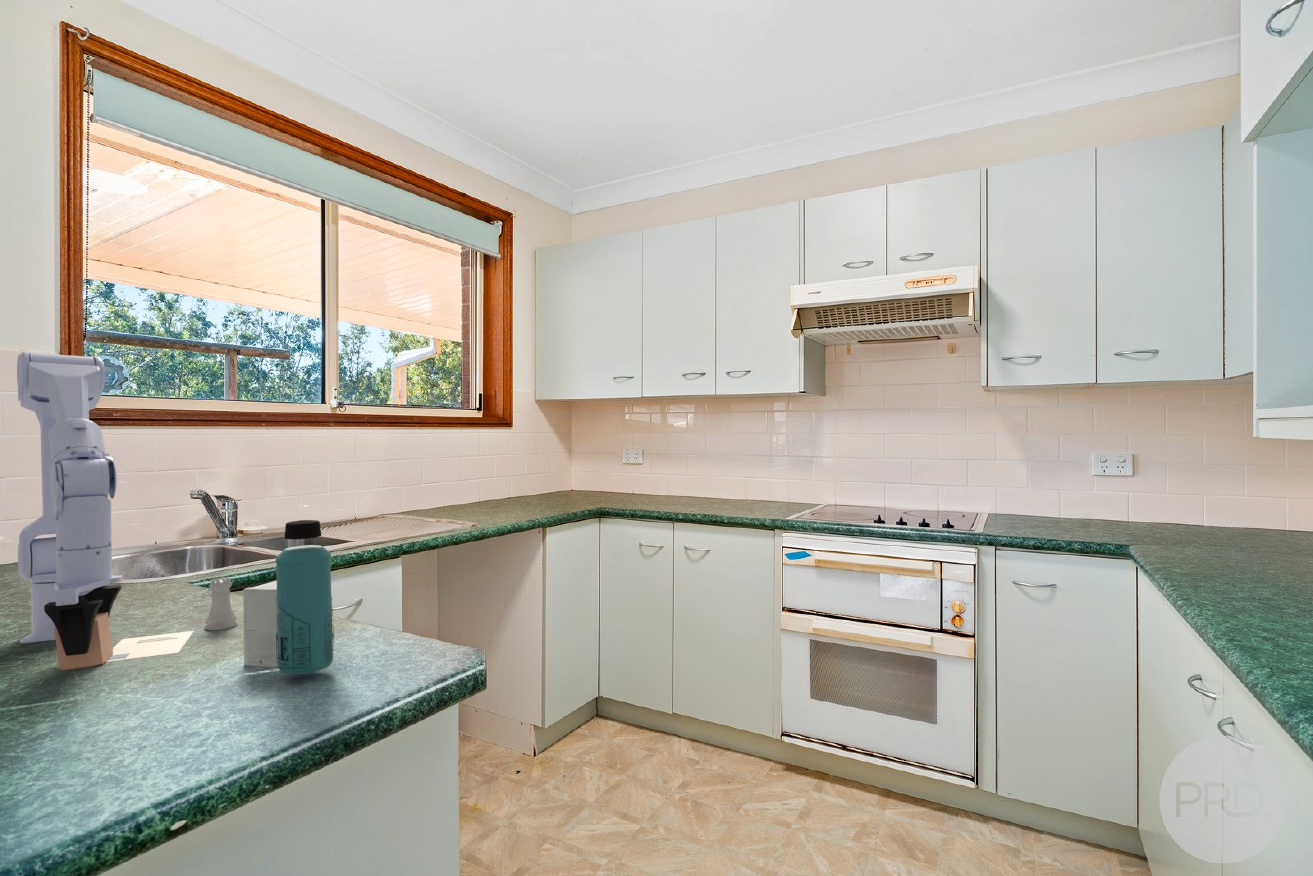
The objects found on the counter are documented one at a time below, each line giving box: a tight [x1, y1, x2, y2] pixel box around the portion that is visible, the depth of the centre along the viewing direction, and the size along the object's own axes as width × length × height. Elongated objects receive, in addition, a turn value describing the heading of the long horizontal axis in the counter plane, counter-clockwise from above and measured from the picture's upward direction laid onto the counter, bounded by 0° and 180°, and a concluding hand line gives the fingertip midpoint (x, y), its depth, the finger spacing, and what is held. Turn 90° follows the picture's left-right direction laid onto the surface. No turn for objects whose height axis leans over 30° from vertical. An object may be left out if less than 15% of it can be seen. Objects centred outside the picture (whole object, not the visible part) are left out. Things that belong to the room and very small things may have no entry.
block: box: [54, 612, 114, 671], centre depth 90 cm, size 4×4×6 cm
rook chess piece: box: [204, 576, 238, 631], centre depth 107 cm, size 4×4×8 cm
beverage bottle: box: [275, 519, 335, 675], centre depth 84 cm, size 6×7×20 cm
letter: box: [105, 630, 195, 663], centre depth 97 cm, size 12×9×1 cm
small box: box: [242, 580, 278, 668], centre depth 91 cm, size 8×6×10 cm
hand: (85, 647), depth 90 cm, fingers open, 6 cm apart
